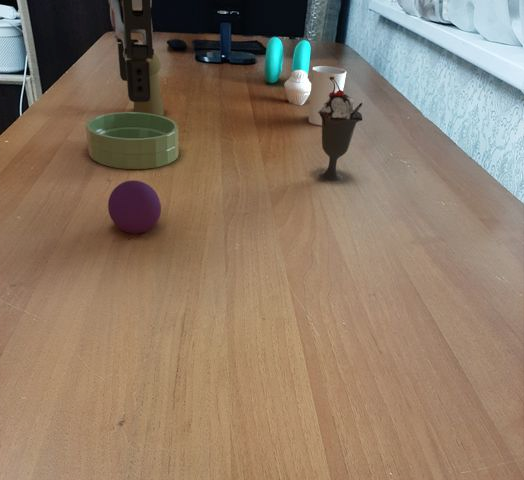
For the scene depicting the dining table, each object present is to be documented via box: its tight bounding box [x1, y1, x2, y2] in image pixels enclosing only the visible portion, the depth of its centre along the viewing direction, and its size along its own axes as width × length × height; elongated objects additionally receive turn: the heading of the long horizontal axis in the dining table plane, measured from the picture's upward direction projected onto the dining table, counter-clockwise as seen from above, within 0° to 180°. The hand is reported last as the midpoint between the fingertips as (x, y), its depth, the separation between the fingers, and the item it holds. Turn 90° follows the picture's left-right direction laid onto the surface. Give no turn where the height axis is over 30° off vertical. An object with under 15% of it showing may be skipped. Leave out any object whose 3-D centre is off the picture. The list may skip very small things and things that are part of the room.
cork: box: [132, 53, 165, 116], centre depth 108 cm, size 6×6×11 cm
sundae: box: [318, 77, 363, 182], centre depth 87 cm, size 7×7×15 cm
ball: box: [107, 179, 162, 235], centre depth 70 cm, size 6×6×6 cm
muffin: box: [283, 69, 311, 106], centre depth 124 cm, size 6×6×7 cm
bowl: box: [85, 111, 180, 170], centre depth 92 cm, size 14×14×5 cm
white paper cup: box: [308, 65, 347, 127], centre depth 112 cm, size 7×7×10 cm
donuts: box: [264, 36, 312, 84], centre depth 137 cm, size 10×10×10 cm
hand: (134, 90), depth 62 cm, fingers open, 8 cm apart
